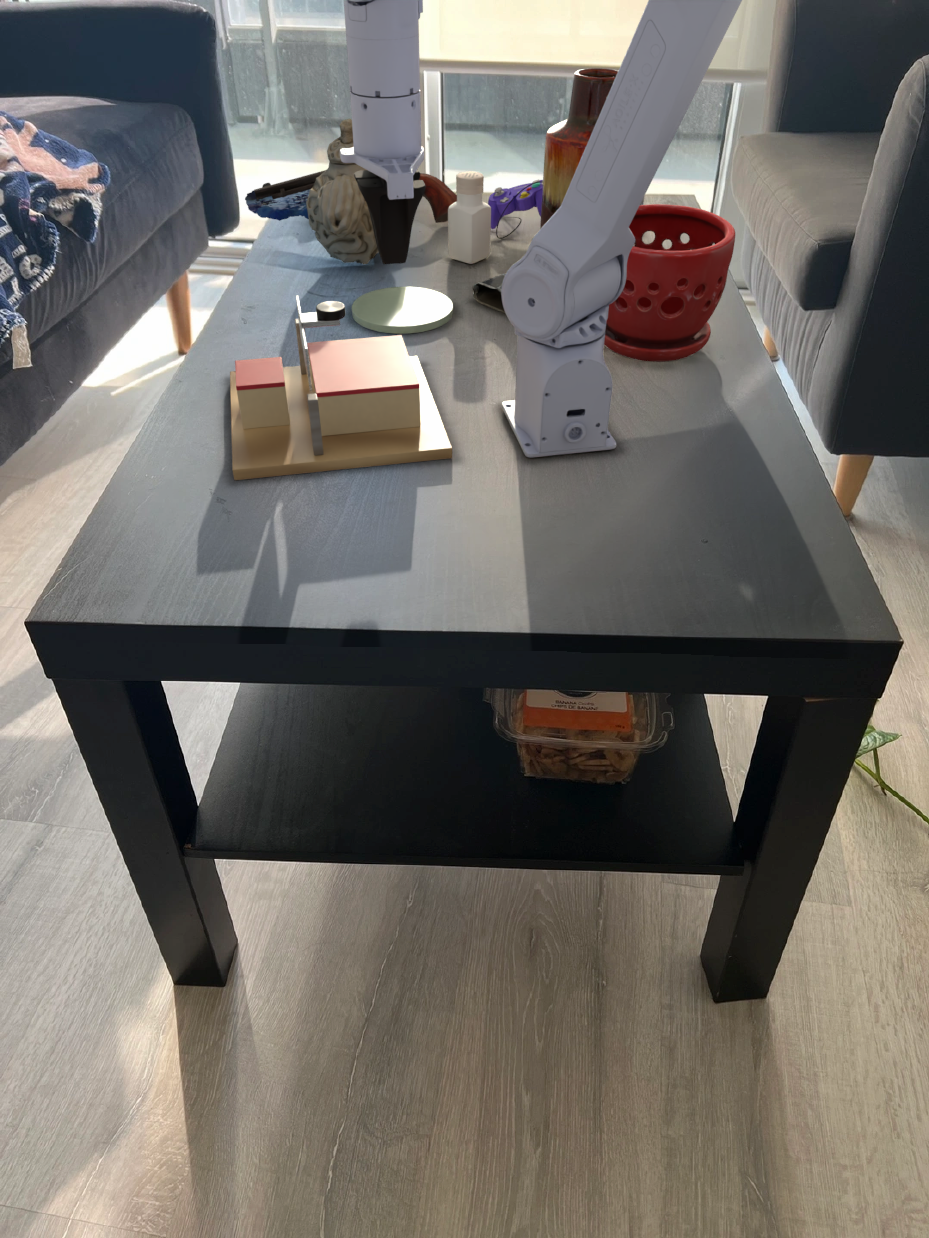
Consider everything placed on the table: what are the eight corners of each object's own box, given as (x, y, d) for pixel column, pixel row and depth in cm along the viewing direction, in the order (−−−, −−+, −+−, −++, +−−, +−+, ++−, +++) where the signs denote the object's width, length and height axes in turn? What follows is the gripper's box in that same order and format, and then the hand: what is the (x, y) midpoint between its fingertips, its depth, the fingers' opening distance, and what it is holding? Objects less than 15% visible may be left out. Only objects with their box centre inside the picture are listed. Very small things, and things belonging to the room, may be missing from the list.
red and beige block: (420, 427, 80) (419, 384, 77) (320, 436, 79) (315, 393, 76) (403, 375, 87) (401, 334, 85) (311, 383, 86) (306, 342, 83)
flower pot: (574, 321, 100) (583, 204, 92) (693, 317, 100) (713, 201, 93) (599, 376, 90) (612, 250, 82) (731, 371, 91) (757, 246, 83)
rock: (334, 169, 135) (335, 183, 136) (232, 194, 127) (234, 209, 128) (396, 189, 126) (397, 204, 128) (291, 218, 118) (293, 234, 119)
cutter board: (452, 458, 78) (452, 393, 74) (234, 480, 75) (222, 413, 71) (417, 365, 91) (415, 305, 87) (231, 381, 89) (221, 320, 85)
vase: (644, 275, 110) (670, 79, 97) (562, 287, 107) (577, 87, 94) (601, 245, 117) (619, 60, 104) (523, 256, 114) (532, 67, 101)
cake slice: (290, 425, 80) (284, 382, 78) (243, 429, 80) (235, 386, 77) (286, 398, 84) (281, 356, 81) (241, 402, 83) (234, 360, 81)
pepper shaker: (471, 266, 112) (472, 182, 106) (446, 259, 114) (445, 175, 107) (492, 257, 114) (494, 174, 108) (466, 250, 116) (467, 168, 110)
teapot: (384, 290, 105) (377, 146, 96) (287, 283, 107) (269, 140, 97) (424, 229, 121) (421, 100, 111) (338, 223, 123) (328, 95, 113)
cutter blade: (356, 387, 76) (352, 332, 73) (309, 391, 75) (303, 336, 72) (342, 332, 84) (338, 280, 81) (300, 335, 83) (294, 284, 80)
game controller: (467, 210, 116) (486, 171, 122) (488, 268, 122) (505, 228, 128) (542, 192, 112) (558, 153, 118) (560, 254, 118) (574, 213, 123)
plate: (462, 329, 98) (462, 322, 97) (358, 337, 96) (357, 330, 96) (443, 290, 106) (443, 283, 106) (347, 297, 104) (346, 290, 104)
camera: (503, 288, 107) (504, 251, 104) (568, 316, 101) (571, 277, 98) (470, 299, 104) (470, 261, 101) (535, 328, 98) (537, 289, 95)
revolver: (469, 220, 125) (441, 145, 127) (470, 202, 121) (441, 125, 123) (281, 274, 122) (255, 196, 124) (276, 257, 118) (250, 177, 121)
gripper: (327, 74, 80) (340, 235, 89) (345, 113, 69) (357, 293, 78) (408, 71, 81) (413, 231, 90) (438, 109, 70) (440, 287, 79)
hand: (392, 259), depth 84 cm, fingers closed
